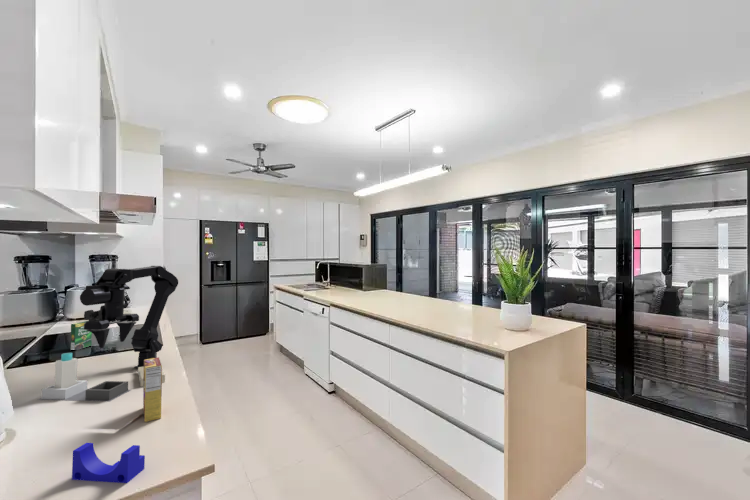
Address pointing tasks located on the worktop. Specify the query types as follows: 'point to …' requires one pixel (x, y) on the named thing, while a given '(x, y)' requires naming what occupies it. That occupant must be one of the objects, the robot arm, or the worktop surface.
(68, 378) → the plug
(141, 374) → the electrical outlet
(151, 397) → the candy box
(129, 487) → the worktop surface
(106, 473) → the blue cradle bracket
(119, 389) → the grey long flat tray
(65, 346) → the worktop surface
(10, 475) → the worktop surface
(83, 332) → the coffee box
